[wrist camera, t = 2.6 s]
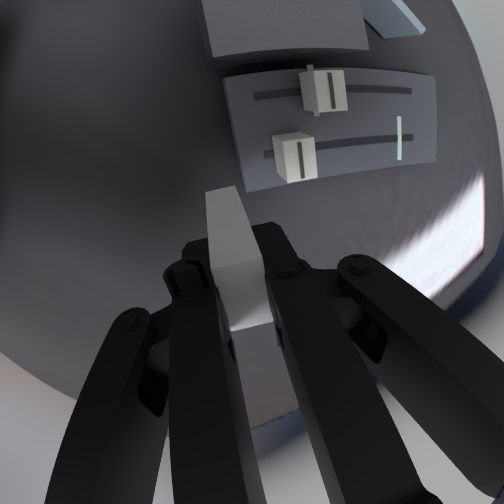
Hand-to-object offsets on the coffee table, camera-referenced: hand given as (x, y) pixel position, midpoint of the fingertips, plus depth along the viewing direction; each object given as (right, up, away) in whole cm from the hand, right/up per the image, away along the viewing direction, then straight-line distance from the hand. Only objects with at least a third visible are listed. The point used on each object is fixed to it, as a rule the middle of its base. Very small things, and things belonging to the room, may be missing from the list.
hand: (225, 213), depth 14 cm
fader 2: (+6, +11, +5) cm, 14 cm away
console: (+10, +11, +9) cm, 17 cm away
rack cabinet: (+2, +18, +3) cm, 18 cm away
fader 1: (+4, +6, +8) cm, 11 cm away
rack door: (+11, +22, +2) cm, 24 cm away
